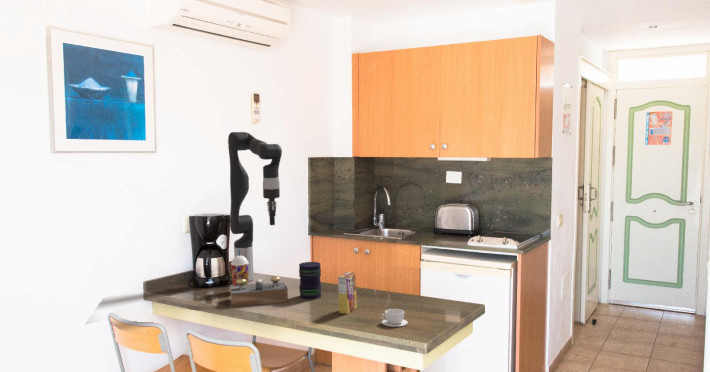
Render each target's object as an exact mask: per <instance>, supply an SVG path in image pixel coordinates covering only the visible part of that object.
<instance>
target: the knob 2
mask: <svg viewBox="0 0 710 372" xmlns="http://www.w3.org/2000/svg"><path fill="white" fill-rule="evenodd" d="M270 281H271V282H272V283H273V287H277V286H278V282H279V281H280V282H281V276H280V275H274V276H271V277H270Z"/></svg>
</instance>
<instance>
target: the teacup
mask: <svg viewBox="0 0 710 372" xmlns="http://www.w3.org/2000/svg"><path fill="white" fill-rule="evenodd" d="M383 316H384V317H385V318H384V317H383ZM404 318H405V310H403V309H400V308H390V309H386V310H385V311H384V313H382V314H381V319H382V320H381V325H383V326H386V327H395V328H396V327H403V326H407V325H408V323H409V322H408V321H407V320H406V319H404ZM400 323H401V324H400ZM393 324H394V325H393Z"/></svg>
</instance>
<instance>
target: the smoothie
mask: <svg viewBox="0 0 710 372" xmlns="http://www.w3.org/2000/svg"><path fill="white" fill-rule="evenodd" d="M230 267H231V278H232V279H231V280H232V286H238V285H239V284H237V279H246V283H245V284H244V285H249V281H248V275H249V262H248V260H247V259H246V257H244V256H242V255H240V250H239V255H238V256H236V257H233V258H232V260H231V263H230Z"/></svg>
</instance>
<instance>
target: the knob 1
mask: <svg viewBox="0 0 710 372" xmlns="http://www.w3.org/2000/svg"><path fill="white" fill-rule="evenodd" d="M245 283H246V279H237V284H239V290H240V289H244V284H245Z"/></svg>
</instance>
